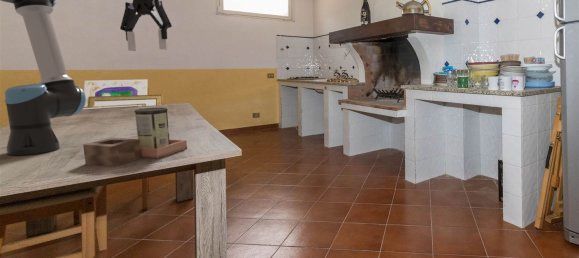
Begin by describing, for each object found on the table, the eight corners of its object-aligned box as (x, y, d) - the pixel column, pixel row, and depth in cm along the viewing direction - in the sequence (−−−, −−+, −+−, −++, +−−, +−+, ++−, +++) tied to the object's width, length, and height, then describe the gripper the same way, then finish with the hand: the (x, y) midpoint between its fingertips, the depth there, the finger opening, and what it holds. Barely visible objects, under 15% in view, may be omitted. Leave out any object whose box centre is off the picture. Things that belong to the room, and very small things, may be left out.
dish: (120, 155, 113) (120, 146, 113) (153, 145, 127) (152, 138, 127) (157, 158, 108) (156, 149, 108) (186, 148, 122) (186, 140, 122)
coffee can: (147, 146, 123) (144, 107, 121) (175, 146, 122) (172, 107, 120) (132, 153, 113) (128, 111, 111) (161, 153, 112) (158, 110, 110)
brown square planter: (85, 163, 103) (83, 144, 102) (115, 155, 114) (113, 137, 113) (113, 166, 100) (111, 146, 99) (141, 157, 110) (139, 139, 109)
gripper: (105, -13, 118) (111, 50, 121) (164, -21, 109) (169, 48, 113) (122, -8, 125) (128, 51, 128) (179, -15, 116) (183, 49, 120)
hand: (147, 50), depth 120 cm, fingers open, 13 cm apart
